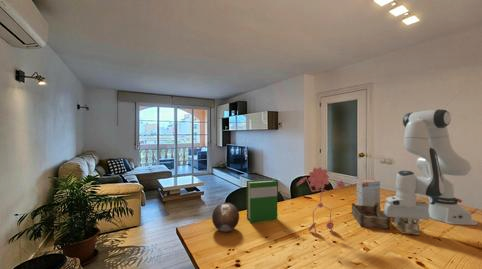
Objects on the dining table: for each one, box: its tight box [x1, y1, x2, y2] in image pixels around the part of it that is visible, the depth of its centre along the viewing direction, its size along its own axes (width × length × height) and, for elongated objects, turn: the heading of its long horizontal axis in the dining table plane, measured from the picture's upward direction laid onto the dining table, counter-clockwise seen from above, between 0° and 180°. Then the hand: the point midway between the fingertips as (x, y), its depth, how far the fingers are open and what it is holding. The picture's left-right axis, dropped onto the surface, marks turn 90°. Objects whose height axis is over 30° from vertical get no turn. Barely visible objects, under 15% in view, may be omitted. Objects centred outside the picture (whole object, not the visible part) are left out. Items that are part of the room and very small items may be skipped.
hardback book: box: [246, 178, 278, 224], centre depth 131 cm, size 18×7×24 cm, turn 105°
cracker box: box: [356, 179, 381, 210], centre depth 144 cm, size 14×6×21 cm, turn 100°
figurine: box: [295, 166, 346, 236], centre depth 117 cm, size 15×26×35 cm, turn 96°
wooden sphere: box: [211, 202, 240, 232], centre depth 116 cm, size 15×15×15 cm
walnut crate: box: [351, 202, 391, 231], centre depth 127 cm, size 15×21×7 cm
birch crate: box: [394, 218, 420, 236], centre depth 115 cm, size 6×12×5 cm, turn 165°
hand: (406, 225), depth 115 cm, fingers closed on birch crate, 6 cm apart
